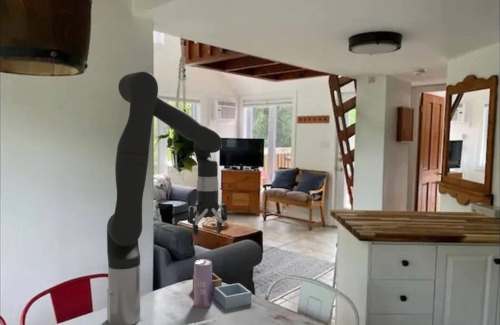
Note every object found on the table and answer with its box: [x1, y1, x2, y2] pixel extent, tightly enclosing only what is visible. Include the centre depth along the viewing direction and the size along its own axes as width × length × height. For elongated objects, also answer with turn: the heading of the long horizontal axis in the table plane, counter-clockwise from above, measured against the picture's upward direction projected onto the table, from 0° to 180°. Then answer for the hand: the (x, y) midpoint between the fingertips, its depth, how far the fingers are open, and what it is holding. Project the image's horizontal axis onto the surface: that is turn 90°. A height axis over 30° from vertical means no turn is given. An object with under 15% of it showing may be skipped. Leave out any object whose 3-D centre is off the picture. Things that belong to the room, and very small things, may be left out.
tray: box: [213, 282, 253, 310], centre depth 128 cm, size 10×10×5 cm
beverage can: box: [193, 259, 213, 309], centre depth 125 cm, size 6×6×15 cm
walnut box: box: [192, 272, 223, 297], centre depth 136 cm, size 8×8×6 cm
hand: (207, 233), depth 135 cm, fingers open, 8 cm apart
